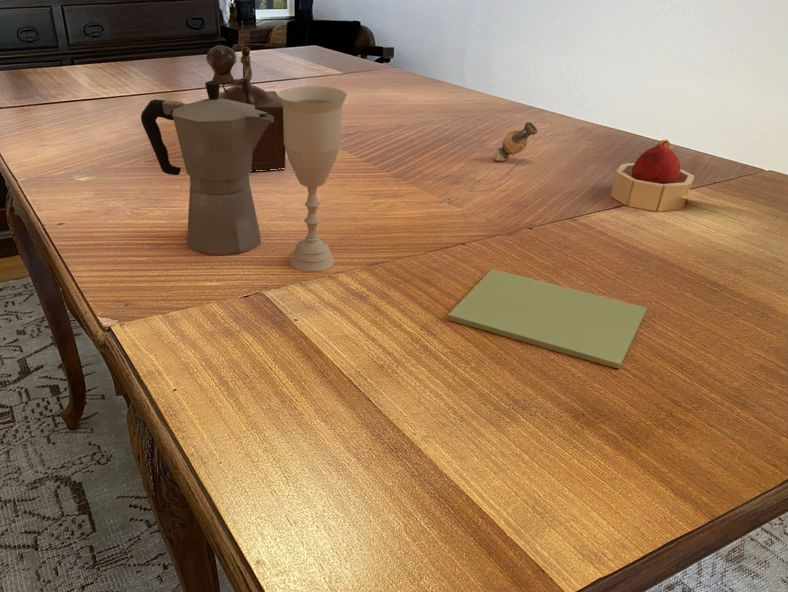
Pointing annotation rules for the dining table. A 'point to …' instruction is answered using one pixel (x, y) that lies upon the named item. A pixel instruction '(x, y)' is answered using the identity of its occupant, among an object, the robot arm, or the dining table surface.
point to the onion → (657, 165)
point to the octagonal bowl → (650, 191)
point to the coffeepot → (213, 167)
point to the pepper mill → (272, 140)
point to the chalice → (312, 158)
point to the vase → (515, 142)
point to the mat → (551, 317)
